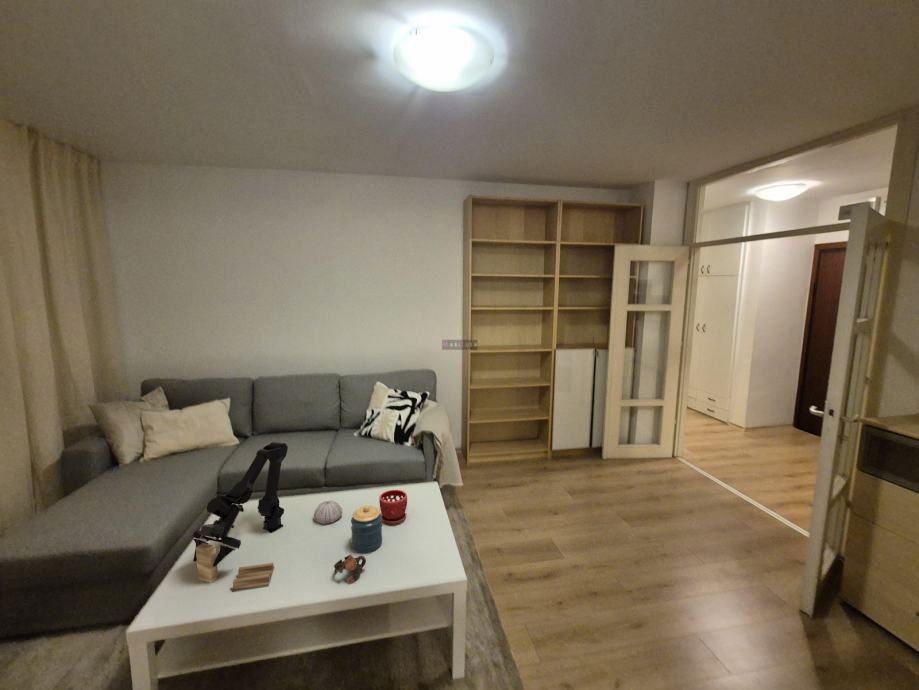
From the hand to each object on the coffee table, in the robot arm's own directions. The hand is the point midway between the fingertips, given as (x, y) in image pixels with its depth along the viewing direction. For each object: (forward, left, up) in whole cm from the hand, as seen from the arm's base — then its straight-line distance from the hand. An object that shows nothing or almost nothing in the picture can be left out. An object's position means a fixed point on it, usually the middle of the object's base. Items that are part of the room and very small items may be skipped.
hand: (203, 563), depth 147 cm
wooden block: (-1, 0, -7) cm, 7 cm away
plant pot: (-69, +33, -7) cm, 77 cm away
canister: (-48, +36, -7) cm, 60 cm away
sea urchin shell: (-53, +6, -7) cm, 54 cm away
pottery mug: (-31, +44, -7) cm, 54 cm away
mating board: (-10, +15, -7) cm, 19 cm away
